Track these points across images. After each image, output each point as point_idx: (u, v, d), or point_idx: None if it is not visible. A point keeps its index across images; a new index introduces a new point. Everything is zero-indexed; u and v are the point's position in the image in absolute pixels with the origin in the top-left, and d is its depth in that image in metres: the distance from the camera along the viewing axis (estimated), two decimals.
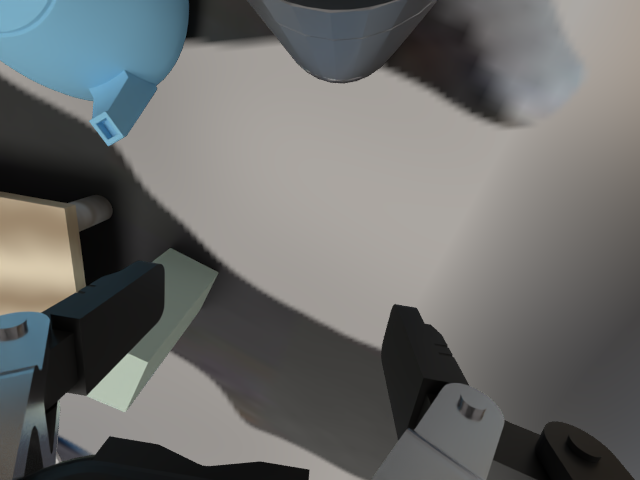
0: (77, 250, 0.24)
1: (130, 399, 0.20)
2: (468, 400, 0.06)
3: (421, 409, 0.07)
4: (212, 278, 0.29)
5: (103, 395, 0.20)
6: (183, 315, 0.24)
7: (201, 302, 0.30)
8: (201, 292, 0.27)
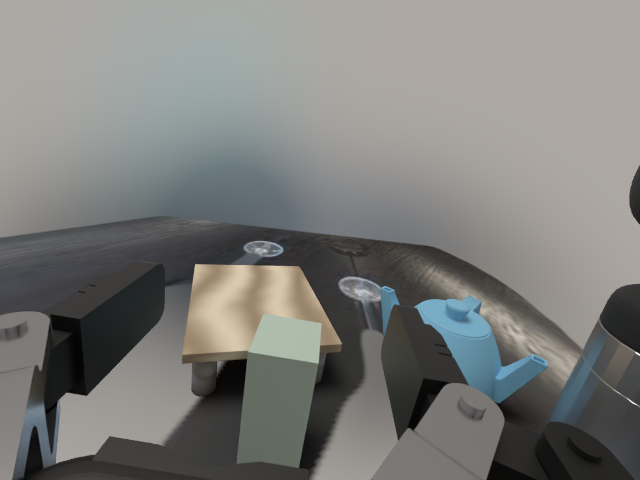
0: None
1: (266, 354, 0.22)
2: (468, 400, 0.06)
3: (421, 409, 0.07)
4: None
5: (263, 338, 0.24)
6: (308, 415, 0.24)
7: None
8: (302, 447, 0.25)
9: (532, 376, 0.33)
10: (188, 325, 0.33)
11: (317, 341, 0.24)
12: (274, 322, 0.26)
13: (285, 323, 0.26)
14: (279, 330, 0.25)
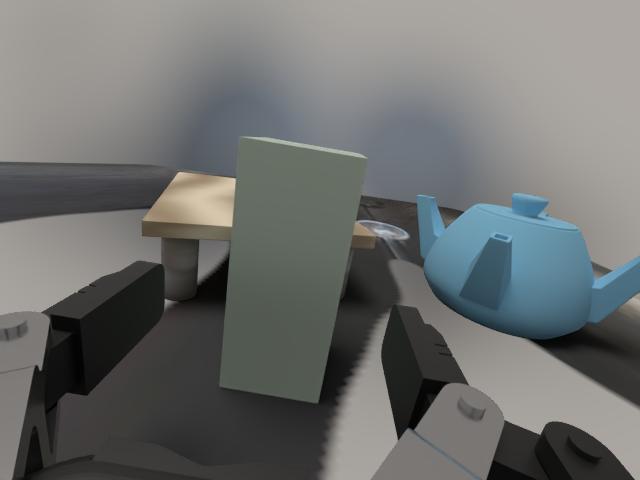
0: None
1: (273, 143, 0.12)
2: (468, 400, 0.06)
3: (421, 409, 0.07)
4: None
5: (266, 139, 0.14)
6: (344, 272, 0.14)
7: (266, 368, 0.15)
8: None
9: None
10: (158, 203, 0.23)
11: None
12: (284, 141, 0.16)
13: (302, 144, 0.16)
14: (293, 143, 0.15)
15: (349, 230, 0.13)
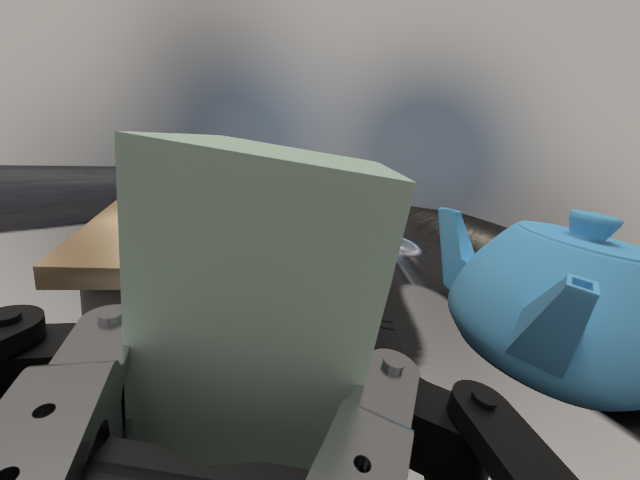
0: None
1: (195, 146, 0.05)
2: (389, 362, 0.07)
3: None
4: None
5: (199, 138, 0.07)
6: None
7: None
8: None
9: None
10: (83, 229, 0.16)
11: (382, 168, 0.07)
12: (248, 141, 0.09)
13: (279, 146, 0.09)
14: (260, 145, 0.08)
15: (369, 332, 0.06)
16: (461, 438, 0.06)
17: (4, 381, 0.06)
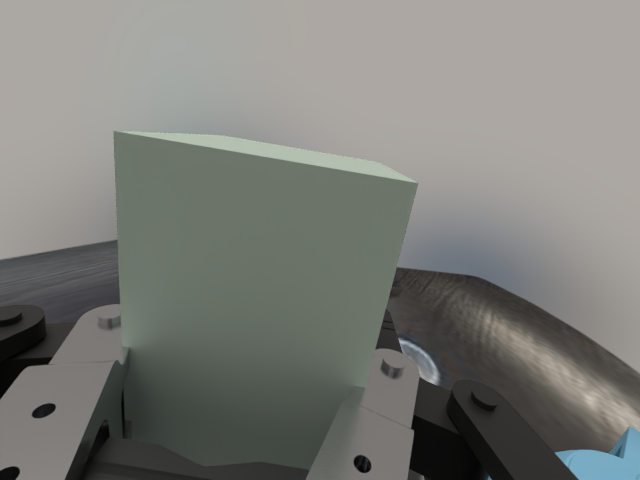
0: None
1: (195, 146, 0.05)
2: (389, 362, 0.07)
3: None
4: None
5: (199, 138, 0.07)
6: None
7: None
8: None
9: None
10: None
11: (383, 168, 0.07)
12: (248, 141, 0.09)
13: (280, 146, 0.09)
14: (260, 145, 0.08)
15: (370, 333, 0.06)
16: (461, 438, 0.06)
17: (4, 381, 0.06)
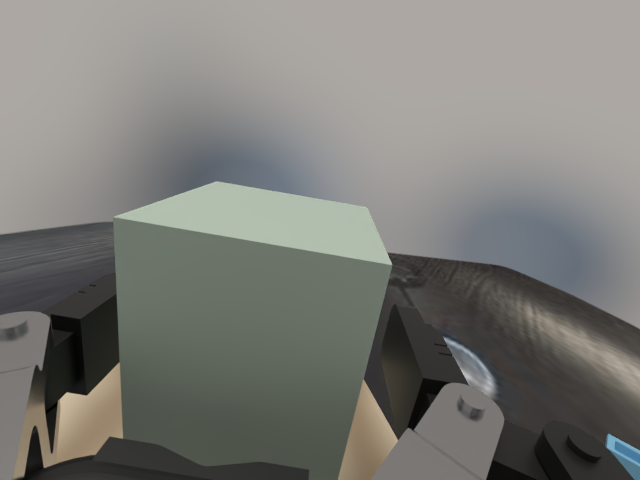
0: None
1: (188, 230, 0.06)
2: (468, 400, 0.06)
3: (421, 409, 0.07)
4: None
5: (193, 204, 0.07)
6: (341, 458, 0.07)
7: None
8: None
9: None
10: None
11: (367, 226, 0.08)
12: (241, 191, 0.09)
13: (272, 196, 0.09)
14: (252, 201, 0.08)
15: (351, 393, 0.06)
16: None
17: None
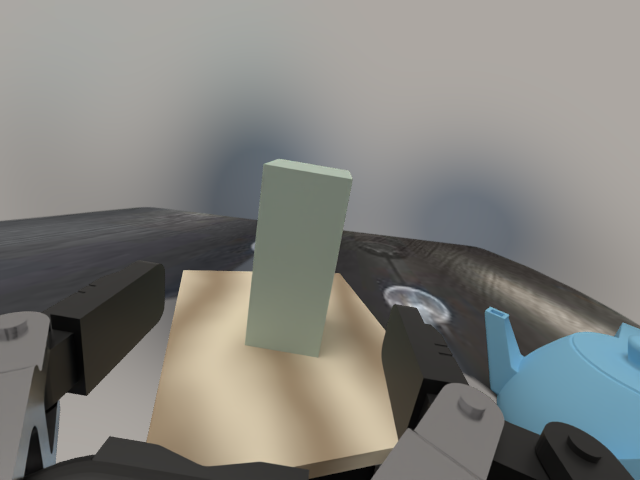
0: None
1: (287, 168, 0.17)
2: (468, 400, 0.06)
3: (421, 409, 0.07)
4: (321, 340, 0.21)
5: (281, 163, 0.19)
6: None
7: (280, 330, 0.21)
8: (327, 308, 0.20)
9: None
10: (159, 400, 0.16)
11: (347, 174, 0.20)
12: (293, 162, 0.21)
13: (306, 164, 0.21)
14: (299, 165, 0.20)
15: (340, 228, 0.18)
16: None
17: None
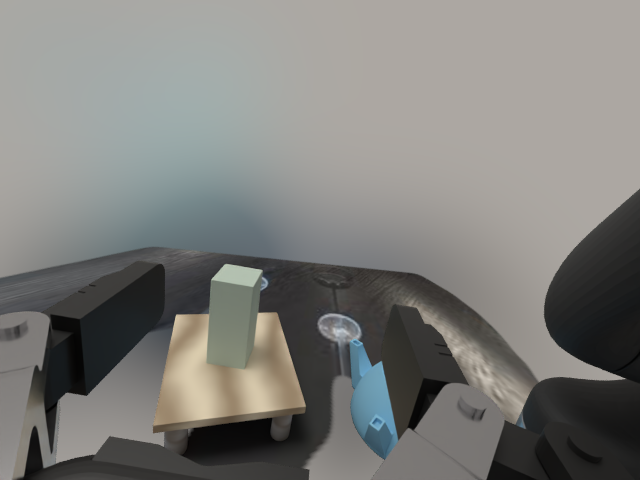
0: (274, 414, 0.36)
1: (222, 281, 0.37)
2: (468, 400, 0.06)
3: (421, 409, 0.07)
4: (245, 360, 0.40)
5: (222, 274, 0.39)
6: (249, 321, 0.39)
7: (224, 355, 0.40)
8: (247, 344, 0.40)
9: None
10: (162, 390, 0.36)
11: (256, 277, 0.39)
12: (231, 268, 0.41)
13: (238, 269, 0.41)
14: (233, 271, 0.40)
15: (249, 308, 0.38)
16: None
17: None
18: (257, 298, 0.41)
